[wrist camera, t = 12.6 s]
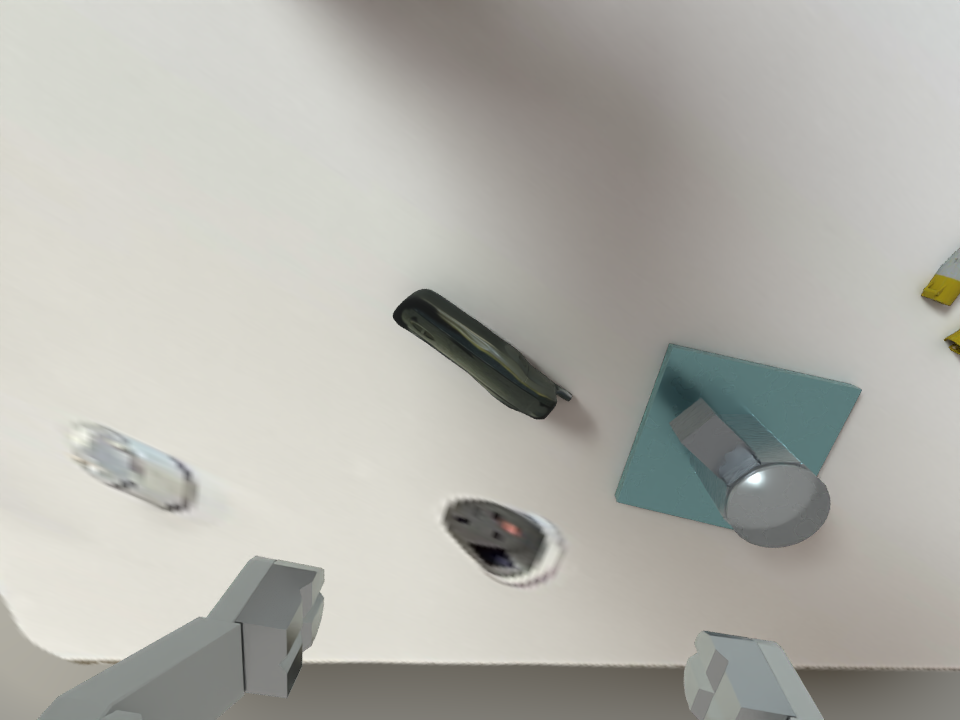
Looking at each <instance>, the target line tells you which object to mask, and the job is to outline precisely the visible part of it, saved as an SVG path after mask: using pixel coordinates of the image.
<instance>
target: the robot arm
mask: <svg viewBox="0 0 960 720" xmlns="http://www.w3.org/2000/svg"><path fill="white" fill-rule="evenodd" d="M323 584H324V569H322V568H319V567H314V566H309V565H304V564H299V563H293V562H288V561H283V560H276V559H270V558H265V557H260V556H255V557H253V558H252V559H250V560H249V561H248V562H247V564H246V565H245V566H244V568H243V569H242V570H241V572H240V573H239V574H238V576H237V577H236V578H235V580H234V581H233V582H232V584H231V585H230V586H229V588H228V589H227V591H226V592H225V593H224V595H223V596H222V597H221V599H220V600H219V601H218V603H217V604H216V605H215V607H214V608H213V609H212V611H211V612H210V613H209V615H208V616H207V617H206V618H205V617H198V618H196V619H194V620H193V621H191V622H189V623H187V624H185V625H184V626H182V627H180V628H178V629H177V630H175V631H173V632H171V633H170V634H168V635H166V636H164V637H162V638H161V639H159V640H157V641H155V642H154V643H152V644H150V645H148V646H147V647H145V648H143V649H141V650H139V651H138V652H136V653H134V654H132V655H131V656H129V657H127V658H125V659H124V660H122V661H120V662H118V663H116V664H115V665H113V666H111V667H109V668H108V669H106V670H104V671H102V672H101V673H99V674H97V675H95V676H94V677H92V678H90V679H88V680H86V681H85V682H83V683H81V684H79V685H78V686H76V687H74V688H72V689H71V690H69V691H67V692H65V693H63V694H62V695H60V696H58V697H57V698H56V700H54V702H53V703H52V704H51V705H50V706H49V707H48V708H47V709H46V710H45V711H44V713H42V715H41V716H40V717H39V718H38V719H37V720H216V719H217V718H218V717H220V716H221V715H222V714H223V713H224V712H225V711H226V710H228V709H229V708H230V707H231V706H232V705H233V704H235V703H236V702H237V701H238V700H239V699H240V698H241V697H243V696H244V692H247V693H253V694H260V695H268V696H275V697H282V698H287V697H288V695H289V693H290V691H291V689H292V687H293V685H294V682H295V680H296V678H297V676H298V674H299V672H300V669H301V667H302V652H304V651H305V650H306V649H308V648H309V647H310V646H312V643H313V641H314V639H315V636H316V634H317V632H318V628H319V625H320V622H321V619H322V613H323V607H324V597H323V596H322V594H321V593H320V590H321V588H322V586H323ZM694 644H695V647H696V649H697V652H698V653H696V654H695V655H693V656H692V657H690V658H689V659H688V661H687V664H686V667H685V670H684V688H685V695H686V699H687V702H688V705H689V709H690V711H691V712H692V713H693V714H694V715H695V716H696V718H697V719H698V720H824V718H823V716H822V715H821V713H820V711H819V710H818V708H817V706H816V704H815V703H814V701H813V699H812V698H811V696H810V694H809V693H808V691H807V689H806V688H805V686H804V684H803V682H802V681H801V679H800V677H799V676H798V674H797V672H796V671H795V669H794V667H793V666H792V664H791V662H790V660H789V659H788V657H787V655H786V654H785V652H784V650H783V649H782V647H781V646H780V645H778V644H777V643H776V642H772V641H766V640H759V639H753V638H750V639H749V638H747V637H741V636H734V635H728V634H721V633H715V632H708V631H702V632H700V633H699V634H698V635H697V638H696V640H695V643H694Z"/></svg>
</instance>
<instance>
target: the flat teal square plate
mask: <svg viewBox="0 0 960 720" xmlns="http://www.w3.org/2000/svg"><path fill="white" fill-rule="evenodd" d="M861 391H862V390H861V389H860V388H858V387H856V386H854V385H852V384H847V383H843V382H838V381H834V380H830V379H825V378H821V377H816V376H812V375H807V374H803V373H799V372H794V371H790V370H785V369H781V368H776V367H772V366H768V365H763V364H759V363H754V362H750V361H745V360H741V359H736V358H732V357H728V356H723V355H719V354H714V353H710V352H705V351H701V350H697V349H692V348H688V347H683V346H679V345H674V344H670V343H669V346H668V349H667V352H666V355H665V357H664V360H663V363H662V366H661V368H660V371H659V374H658V377H657V380H656V382H655V385H654V388H653V391H652V393H651V396H650V399H649V402H648V405H647V407H646V410H645V413H644V416H643V418H642V421H641V424H640V427H639V430H638V432H637V435H636V438H635V441H634V443H633V446H632V449H631V452H630V455H629V457H628V460H627V463H626V466H625V468H624V471H623V474H622V477H621V480H620V482H619V485H618V488H617V491H616V493H615V497H616V500H617V502H619V503H623V504H628V505H632V506H636V507H640V508H644V509H649V510H653V511H657V512H661V513H665V514H670V515H674V516H678V517H682V518H687V519H691V520H695V521H699V522H703V523H708V524H712V525H716V526H720V527H725V528H729V529H733V528H732V526H731V525H730V524H729V523H728V522H727V521H725V520H724V519H723V517H722V515H721V514H720V512H719V510H718V509H717V507H716V505H715V504H714V502H713V500H712V499H711V497H710V495H709V494H708V492H707V490H706V489H705V487H704V485H703V484H702V482H701V480H700V479H699V477H698V475H697V474H696V472H695V470H694V469H693V467H692V465H691V464H690V462H689V461H690V451H689V450H688V449H687V448H686V447H685V446H684V445H683V444H682V443H681V442H680V440H679V439H678V437H677V436H676V434H675V432H674V431H673V429H672V427H671V426H670V424H669V423H670V422H671V421H672V420H674V419H675V418H676V417H677V416H678V415H680V414H681V413H682V412H683V411H685V410H686V409H687V408H688V407H690V406H691V405H692V404H693V403H695V402H696V401H697V400H698V399H699V398H702V399H703V400H704V401H705V402H706V403H707V404H708V405H709V406H710V407H711V408H712V409H713V410H714V411H715V412H717V413H718V414H751V415H752V416H753V415H754V416H755V417H756V418H757V419H758V420H759V421H760V422H761V423H762V424H763V425H764V426H765V427H766V428H767V429H768V430H769V431H770V432H771V433H772V434H773V435H774V436H775V437H777V438H778V439H779V440H780V441H781V442H782V443H783V444H784V445H785V446H786V447H787V448H788V449H789V450H790V451H791V452H792V453H793V454H794V455H795V456H796V457H797V458H798V459H799V460H800V461H801V462H802V463H803V464H804V465H805V466H806V467H807V468H808V469H809V470H810V471H812V472H813V473H814V474H815V475H816V476H817V474H818V473H819V471H820V469H821V467H822V465H823V463H824V461H825V459H826V457H827V455H828V454H829V452H830V450H831V448H832V446H833V444H834V442H835V440H836V438H837V436H838V435H839V433H840V431H841V429H842V427H843V425H844V423H845V421H846V419H847V417H848V416H849V414H850V412H851V410H852V408H853V406H854V404H855V402H856V400H857V398H858V397H859V395H860V393H861ZM733 530H734V529H733Z"/></svg>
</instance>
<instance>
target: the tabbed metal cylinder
mask: <svg viewBox="0 0 960 720" xmlns="http://www.w3.org/2000/svg"><path fill="white" fill-rule="evenodd" d="M669 424H670V426H671V427H672V429H673V431H674V432H675V434H676V436H677V437H678V439H679V440H680V442H681V443H682V444H683V445H684V446H685V447H686V448H687V449H688V450H689V451H690V461H689V462H690V464H691V465H692V467H693V469H694V470H695V472H696V474H697V475H698V477H699V479H700V480H701V482H702V484H703V485H704V487H705V489H706V490H707V492H708V494H709V495H710V497H711V499H712V500H713V502H714V504H715V505H716V507H717V509H718V510H719V512H720V514H721V515H722V517H723V519H724V520H725V521H727V522H728V523H729V524H730V525H731V526H732V528H733V529H734V530H735V532H736V533H737V534H738V535H739V536H740V537H741V538H743V539H744V540H746V541H747V542H749V543H752V544H754V545H758V546H762V547H770V548H778V547H786V546H790V545H793V544H796V543H799V542H801V541H803V540H805V539H807V538H809V537H810V536H811V535H813V534H814V533H815V532H816V531H817V530H818V529H819V528H820V527H821V526H822V525H823V523H824V522H825V520H826V518H827V516H828V513H829V510H830V496H829V493H828V490H827V488H826V485H825V484H824V483H823V482H822V481H821V480H820V479H819V478H818V477H817V476H816V475H815V474H814V473H813V472H812V471H810V470H809V469H808V468H807V467H806V466H805V465H804V464H803V463H802V462H801V461H800V460H799V459H798V458H797V457H796V456H795V455H794V454H793V453H792V452H791V451H790V450H789V449H788V448H787V447H786V446H785V445H784V444H783V443H782V442H781V441H780V440H779V439H778V438H777V437H775V436H774V435H773V434H772V433H771V432H770V431H769V430H768V429H767V428H766V427H765V426H764V425H763V424H762V423H761V422H760V421H759V420H758V419H757V418H756V417H755V416H754V415H753V416H752V415H751V414H718V413H717V412H715V411H714V410H713V409H712V408H711V407H710V406H709V405H708V404H707V403H706V402H705V401H704V400H703V399H702V398H699V399H698V400H697V401H696V402H695V403H693V404H692V405H691V406H690V407H688V408H687V409H686V410H685V411H683V412H682V413H681V414H680V415H678V416H677V417H676V418H675V419H674V420H672V421H671V422H670V423H669Z"/></svg>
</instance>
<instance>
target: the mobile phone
mask: <svg viewBox="0 0 960 720" xmlns="http://www.w3.org/2000/svg"><path fill="white" fill-rule="evenodd" d="M393 319H394V320H395V321H396V323H397V324H398V325H400V326H401V327H403V328H404V329H406V330H408V331H409V332H411V333H413V334H414V335H416V336H417V337H418V338H420V339H421V340H423V341H424V342H426V343H427V344H429V345H430V346H431V347H433V348H434V349H436V350H437V351H438V352H440V353H441V354H442V355H444V356H445V357H447V358H448V359H449V360H451V361H452V362H454V363H455V364H457V365H458V366H459V367H461V368H462V369H464V370H465V371H466V372H468V373H469V374H470V375H471V376H472V377H473V378H474V379H475V380H476V381H477V382H478V383H480V384H481V385H482V386H483V387H484V388H485V389H486V390H487V391H488V392H489V393H490V394H491V395H492V396H494V397H495V398H496V399H497V400H499V401H500V402H501V403H503V404H504V405H506V406H507V407H509V408H511V409H514V410H516V411H519V412H521V413H524V414H526V415H528V416H530V417H532V418H534V419H545V418H546V417H547V416H548V415H549V413H550V412H551V411H552V410H553V409H554V407H555V406H556V403H557V398H556V395H559V396H560V397H562V398H563V399H565V400H566V401H570V400H571V398H572V395H571V394H570V393H569V392H568V391H566V390H564V389H563V388H561V387H560V386H558V385H556V384H555V383H553V382H552V381H550V380H549V379H548V378H547V377H546V376H545V375H543V374H542V373H541V372H539V371H538V370H536V369H535V368H534V367H532V366H531V365H530V364H529V363H528V362H527V361H526V359H525V358H524V357H523V355H522V354H521V353H520V352H519V351H518V350H516V349H515V348H514V347H512V346H511V345H509V344H508V343H506V342H505V341H504V340H502V339H501V338H499V337H498V336H496V335H495V334H494V333H492V332H491V331H490V330H489V329H487V328H486V327H485V326H483V325H482V324H481V323H479V322H478V321H476V320H475V319H473V318H472V317H470V316H469V315H467V314H466V313H465V312H463V311H462V310H460V309H459V308H457V307H456V306H455V305H453V304H452V303H450V302H449V301H448V300H446V299H445V298H443V297H442V296H440V295H439V294H437V293H436V292H434V291H432V290H428V289H421V290H418V291H416V292H414V293H413V294H412V295H410V296H409V297H407V298H406V299H405V300H404V301H403V302H402V303H401V304H400V305H399V306H398V307H397V308H396V310H395V311H394V313H393Z"/></svg>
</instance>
